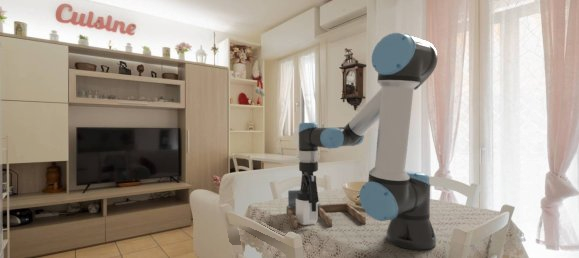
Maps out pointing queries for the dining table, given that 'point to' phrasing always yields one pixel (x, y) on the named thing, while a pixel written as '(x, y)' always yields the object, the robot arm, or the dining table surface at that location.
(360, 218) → the wooden divider rails
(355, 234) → the dining table surface
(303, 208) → the jar
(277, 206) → the dining table surface
